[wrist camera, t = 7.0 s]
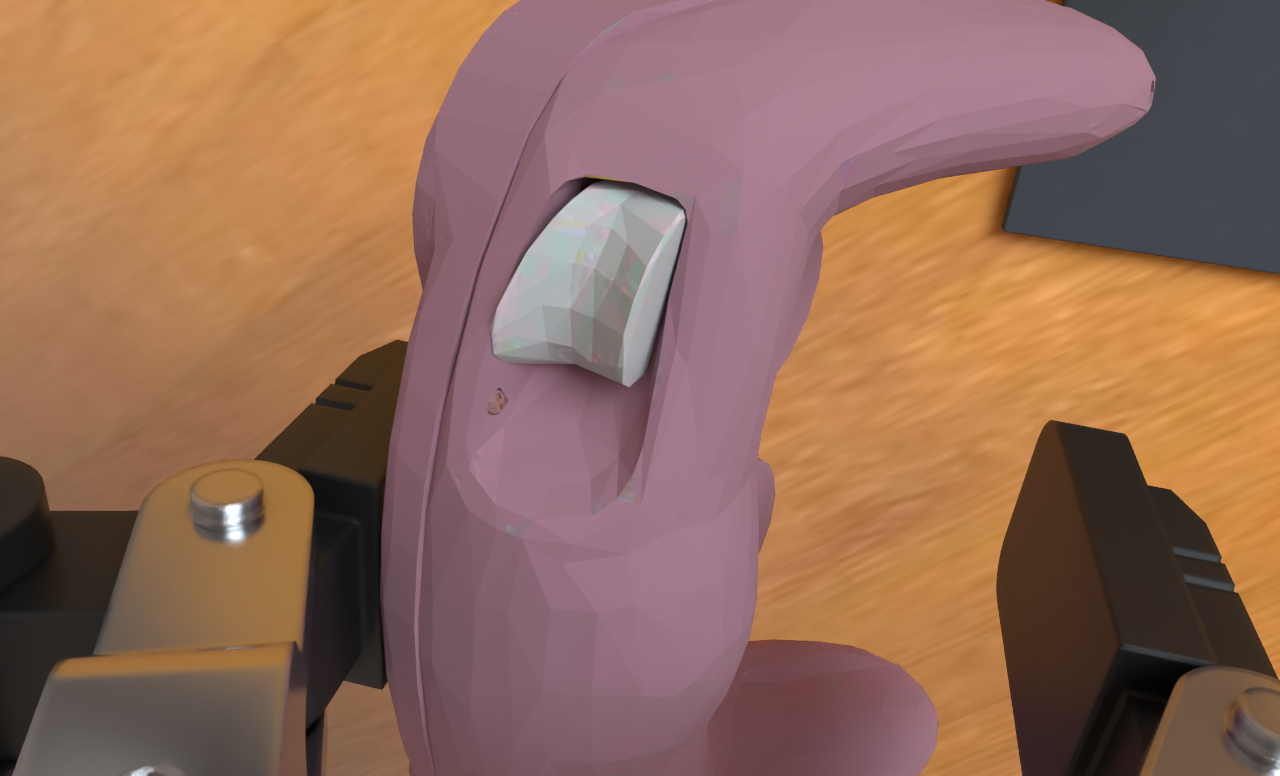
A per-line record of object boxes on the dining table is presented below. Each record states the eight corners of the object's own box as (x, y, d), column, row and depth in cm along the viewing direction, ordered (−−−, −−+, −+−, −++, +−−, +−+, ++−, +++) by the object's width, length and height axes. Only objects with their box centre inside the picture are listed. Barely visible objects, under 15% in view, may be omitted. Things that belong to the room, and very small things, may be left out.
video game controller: (789, -74, 12) (238, -62, 7) (1211, 0, 10) (845, 98, 5) (684, 597, 17) (314, 891, 12) (950, 754, 14) (629, 1204, 9)
